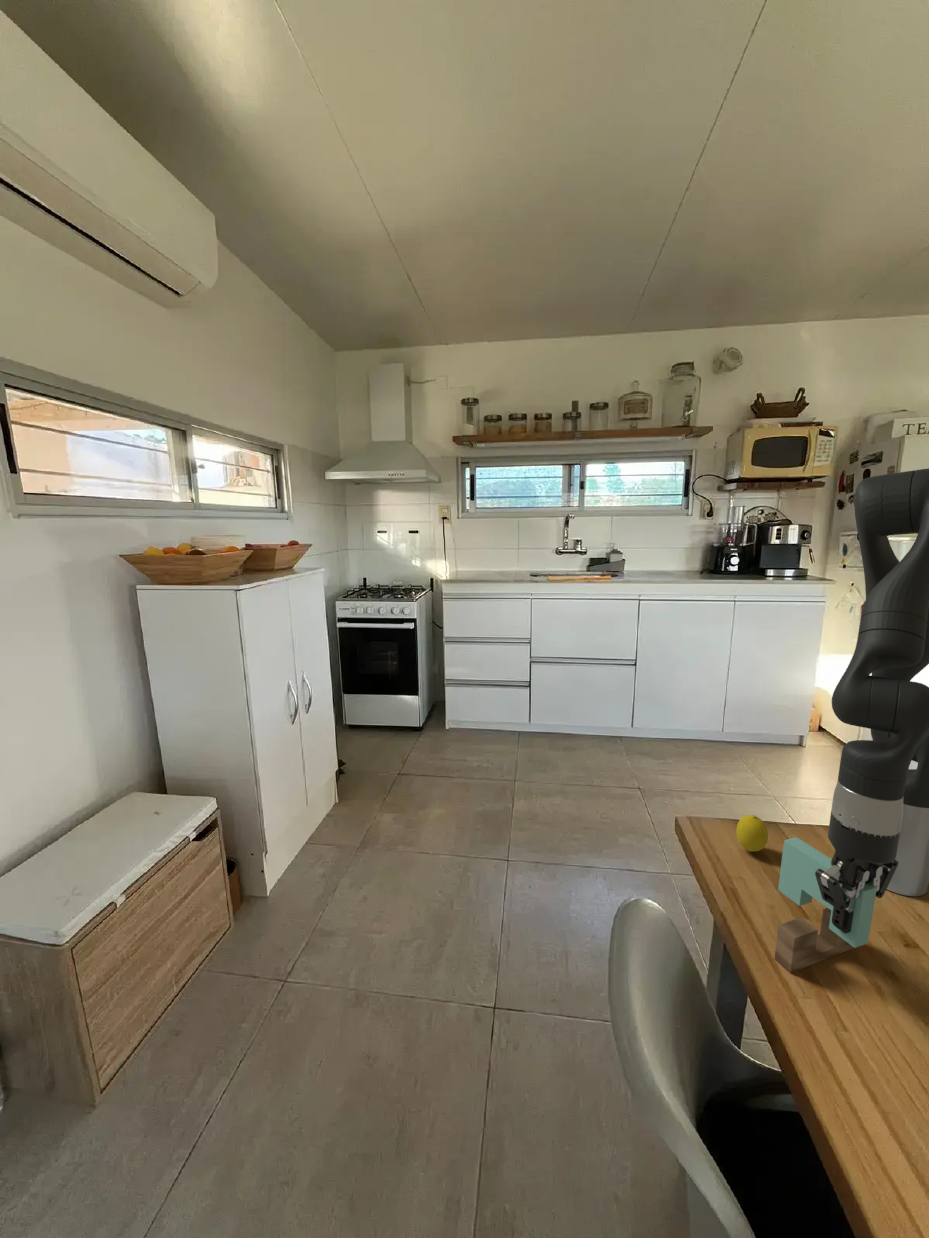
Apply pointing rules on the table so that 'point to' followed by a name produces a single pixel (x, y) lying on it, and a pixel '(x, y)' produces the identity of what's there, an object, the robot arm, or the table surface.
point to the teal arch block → (803, 886)
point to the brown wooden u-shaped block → (807, 943)
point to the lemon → (752, 833)
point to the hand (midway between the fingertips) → (848, 925)
